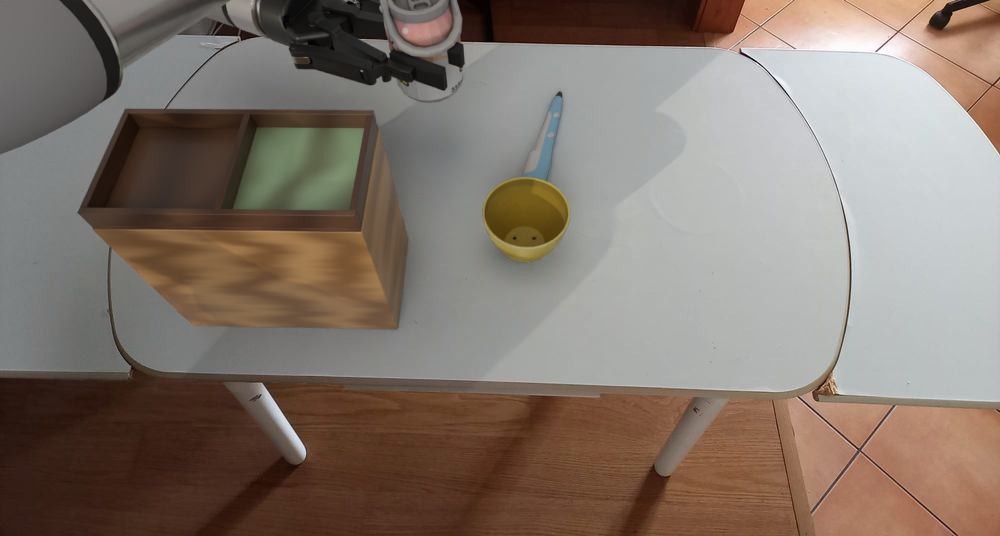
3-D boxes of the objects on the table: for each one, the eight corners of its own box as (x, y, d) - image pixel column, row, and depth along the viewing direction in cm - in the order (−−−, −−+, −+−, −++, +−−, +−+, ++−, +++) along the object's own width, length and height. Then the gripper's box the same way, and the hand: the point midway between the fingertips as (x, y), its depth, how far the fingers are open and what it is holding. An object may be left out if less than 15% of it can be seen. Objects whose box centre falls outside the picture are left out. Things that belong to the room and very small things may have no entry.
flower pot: (564, 211, 79) (568, 176, 73) (567, 280, 74) (572, 248, 68) (485, 211, 79) (483, 176, 73) (483, 280, 74) (481, 248, 68)
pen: (541, 200, 80) (542, 187, 77) (517, 196, 80) (517, 182, 78) (569, 96, 89) (571, 81, 87) (548, 93, 90) (549, 78, 87)
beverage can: (477, 102, 73) (469, 13, 63) (408, 120, 72) (389, 33, 61) (455, 53, 78) (444, -37, 67) (390, 70, 76) (369, -19, 66)
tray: (93, 228, 54) (76, 212, 52) (137, 125, 60) (124, 108, 58) (360, 231, 54) (354, 215, 52) (378, 127, 60) (373, 109, 58)
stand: (192, 326, 71) (91, 229, 54) (219, 237, 78) (137, 125, 60) (398, 329, 71) (362, 232, 54) (408, 239, 77) (379, 127, 60)
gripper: (326, -4, 79) (489, 49, 73) (246, 77, 72) (420, 142, 66) (310, -60, 73) (487, -7, 67) (220, 21, 65) (410, 89, 60)
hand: (453, 67), depth 67 cm, fingers closed on beverage can, 3 cm apart
